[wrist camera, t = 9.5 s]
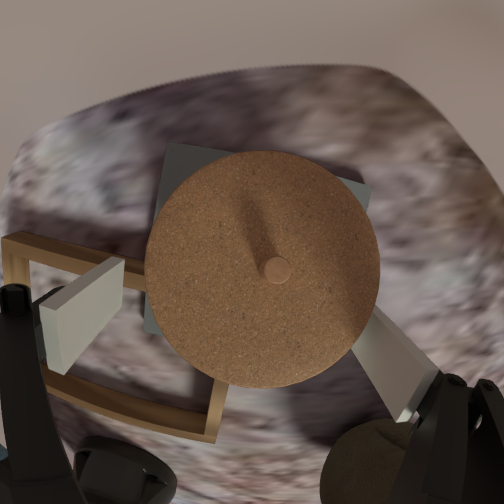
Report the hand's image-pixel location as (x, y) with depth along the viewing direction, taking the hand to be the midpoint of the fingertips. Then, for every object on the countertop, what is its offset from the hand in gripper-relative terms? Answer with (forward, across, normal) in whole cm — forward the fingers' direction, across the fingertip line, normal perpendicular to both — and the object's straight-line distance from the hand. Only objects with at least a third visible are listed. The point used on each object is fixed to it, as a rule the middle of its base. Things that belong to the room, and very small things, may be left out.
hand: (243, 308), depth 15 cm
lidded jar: (+6, 0, 0) cm, 6 cm away
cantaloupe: (+8, -18, +18) cm, 27 cm away
